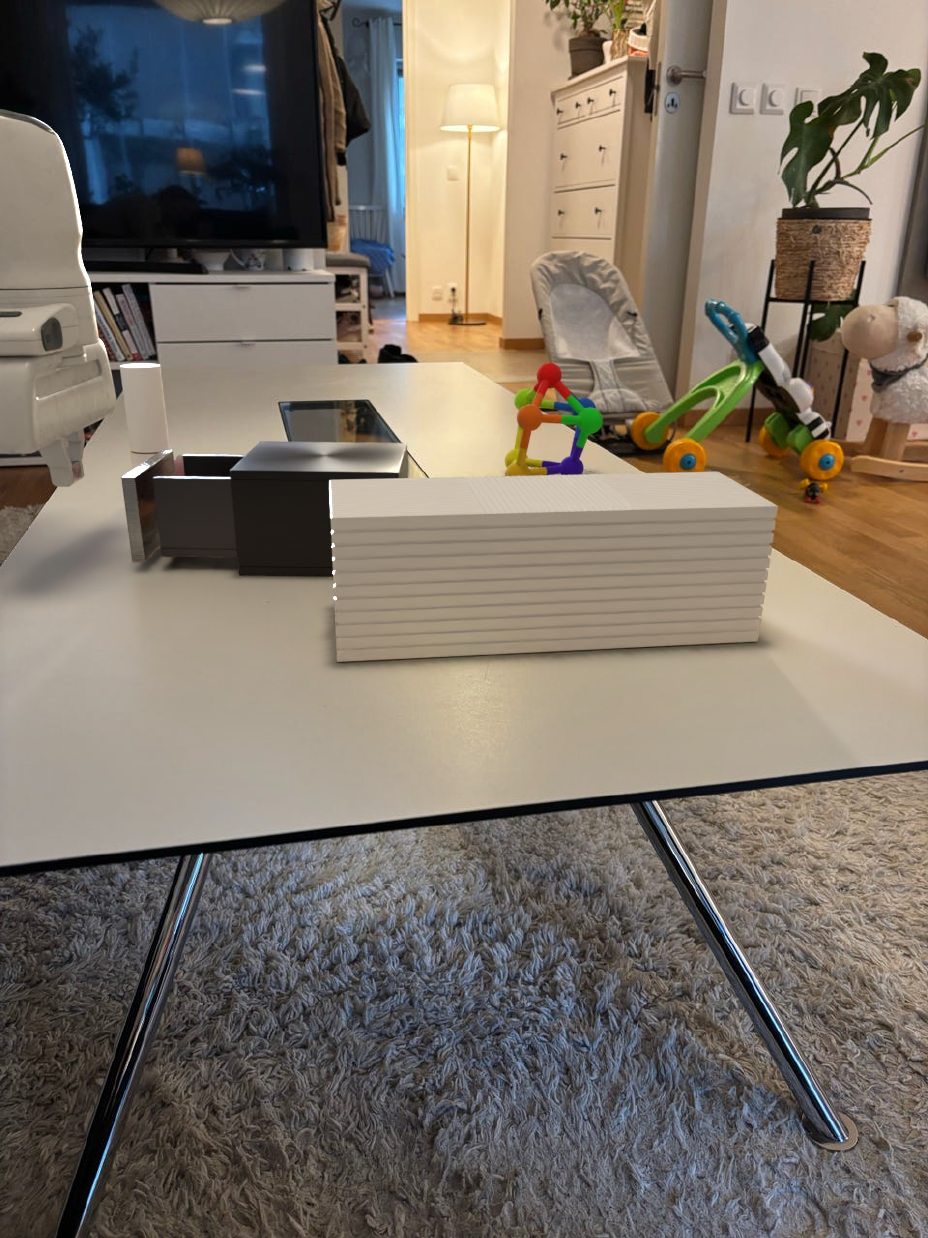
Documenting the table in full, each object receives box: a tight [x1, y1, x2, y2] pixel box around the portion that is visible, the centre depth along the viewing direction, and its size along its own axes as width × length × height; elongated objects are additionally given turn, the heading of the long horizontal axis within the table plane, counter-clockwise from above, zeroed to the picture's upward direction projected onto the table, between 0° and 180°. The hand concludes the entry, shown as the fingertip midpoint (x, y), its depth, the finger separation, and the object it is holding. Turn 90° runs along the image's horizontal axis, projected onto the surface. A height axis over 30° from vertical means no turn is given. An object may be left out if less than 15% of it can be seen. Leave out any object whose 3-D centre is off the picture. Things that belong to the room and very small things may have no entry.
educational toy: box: [504, 362, 604, 476], centre depth 115 cm, size 16×13×15 cm
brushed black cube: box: [230, 440, 408, 577], centre depth 86 cm, size 15×13×10 cm
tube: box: [119, 362, 170, 470], centre depth 103 cm, size 4×4×15 cm
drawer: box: [120, 449, 246, 563], centre depth 86 cm, size 15×11×8 cm
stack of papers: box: [329, 471, 779, 663], centre depth 70 cm, size 32×11×11 cm, turn 98°
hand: (69, 482), depth 83 cm, fingers closed
